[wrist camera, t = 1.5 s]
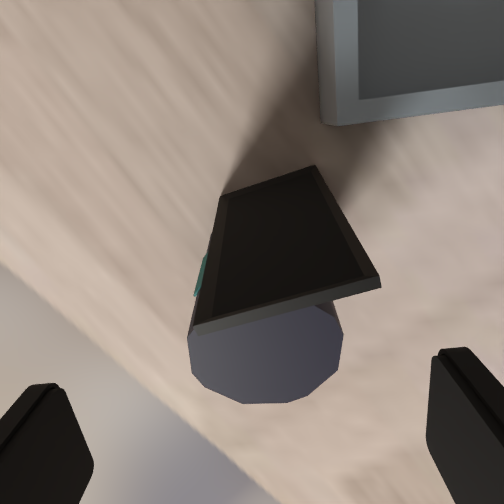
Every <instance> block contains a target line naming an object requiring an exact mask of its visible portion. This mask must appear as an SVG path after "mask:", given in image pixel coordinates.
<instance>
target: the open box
mask: <svg viewBox="0 0 504 504" xmlns="http://www.w3.org/2000/svg"><path fill="white" fill-rule="evenodd" d="M315 20H316V40H317V60H318V80H319V99H320V119H321V123H323V124H328V125H333V126H343V125H351V124H358V123H366V122H374V121H381V120H389V119H397V118H405V117H412V116H420V115H428V114H435V113H443V112H451V111H459V110H466V109H474V108H482V107H489V106H497V105H504V0H315Z"/></svg>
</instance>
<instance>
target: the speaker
mask: <svg viewBox="0 0 504 504" xmlns="http://www.w3.org/2000/svg"><path fill="white" fill-rule="evenodd" d="M378 288H382V287H381V282H380V277H379V274H378V272H377V271H376V269H375V267H374V266H373V264H372V262H371V260H370V259H369V257H368V255H367V253H366V252H365V250H364V248H363V247H362V245H361V243H360V241H359V240H358V238H357V236H356V235H355V233H354V231H353V229H352V228H351V226H350V224H349V222H348V221H347V219H346V217H345V216H344V214H343V212H342V210H341V209H340V207H339V205H338V204H337V202H336V200H335V198H334V197H333V195H332V193H331V191H330V190H329V188H328V186H327V185H326V183H325V181H324V179H323V178H322V176H321V174H320V172H319V171H318V169H317V167H316V166H315V165H313V166H310V167H307V168H304V169H301V170H298V171H295V172H292V173H289V174H286V175H283V176H280V177H277V178H274V179H271V180H268V181H265V182H262V183H259V184H256V185H253V186H250V187H247V188H244V189H241V190H237V191H234V192H231V193H228V194H225V195H222V196H220V198H219V203H218V208H217V213H216V217H215V222H214V227H213V232H212V234H211V236H210V241H209V245H208V249H207V254H206V255H205V257H204V258H203V261H202V265H201V268H200V272H199V276H198V280H197V284H196V288H195V292H194V295H193V296H195V297H196V295H197V297H196V301H195V306H194V310H193V314H192V318H191V323H190V327H189V331H188V336H187V341H188V348H189V355H190V363H191V370H192V374H193V375H194V376H195V377H196V378H197V379H198V380H199V381H200V383H201V384H202V385H203V386H204V387H205V388H208V389H210V390H212V391H214V392H217V393H219V394H221V395H224V396H226V397H228V398H230V399H233V400H235V401H237V402H239V403H242V404H260V403H288V402H291V401H294V400H297V399H300V398H303V397H305V396H308V395H309V394H310V393H311V392H313V391H314V390H315V389H316V388H317V387H318V386H320V385H321V384H322V383H323V382H324V381H326V380H327V379H328V378H329V377H330V376H331V375H333V374H334V373H335V372H336V371H337V370H338V366H339V360H340V354H341V347H342V341H343V331H342V328H341V325H340V322H339V319H338V316H337V313H336V310H335V306H334V303H333V300H337V299H340V298H344V297H348V296H352V295H355V294H359V293H363V292H367V291H370V290H374V289H378Z"/></svg>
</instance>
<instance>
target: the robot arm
mask: <svg viewBox="0 0 504 504" xmlns="http://www.w3.org/2000/svg"><path fill="white" fill-rule="evenodd" d="M426 442H427V446H428V449H429V452H430V454H431V456H432V458H433V460H434V462H435V464H436V466H437V468H438V470H439V472H440V474H441V476H442V478H443V480H444V482H445V484H446V486H447V488H448V490H449V492H450V494H451V496H452V498H453V500H454V502H455V504H504V387H503V386H502V384H501V383H500V382H499V381H498V380H497V379H496V378H495V377H494V376H493V374H492V373H491V372H490V371H489V370H488V369H487V368H486V367H485V366H484V364H483V363H482V362H481V361H480V360H479V359H478V358H477V357H476V355H475V354H474V353H473V352H472V351H471V350H470V349H469V348H467V347H458V348H446V349H440V351H439V353H438V356H433V357H432V361H431V374H430V387H429V400H428V413H427V427H426ZM93 469H94V461H93V458H92V456H91V453H90V451H89V448H88V446H87V444H86V441H85V439H84V436H83V434H82V431H81V429H80V426H79V424H78V421H77V419H76V417H75V414H74V412H73V409H72V407H71V404H70V402H69V400H68V397H67V395H66V392H65V391H64V389H62V388H60V387H59V386H58V385H57V384H56V383H47V384H36V385H31V386H29V387H28V388H27V389H26V390H25V391H24V392H23V393H22V394H21V396H20V397H19V398H18V399H17V400H16V401H15V403H14V404H13V405H12V406H11V407H10V409H9V410H8V411H7V412H6V413H5V415H3V417H2V418H1V419H0V504H79V502H80V500H81V498H82V496H83V494H84V491H85V489H86V487H87V485H88V483H89V481H90V479H91V476H92V474H93Z"/></svg>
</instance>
